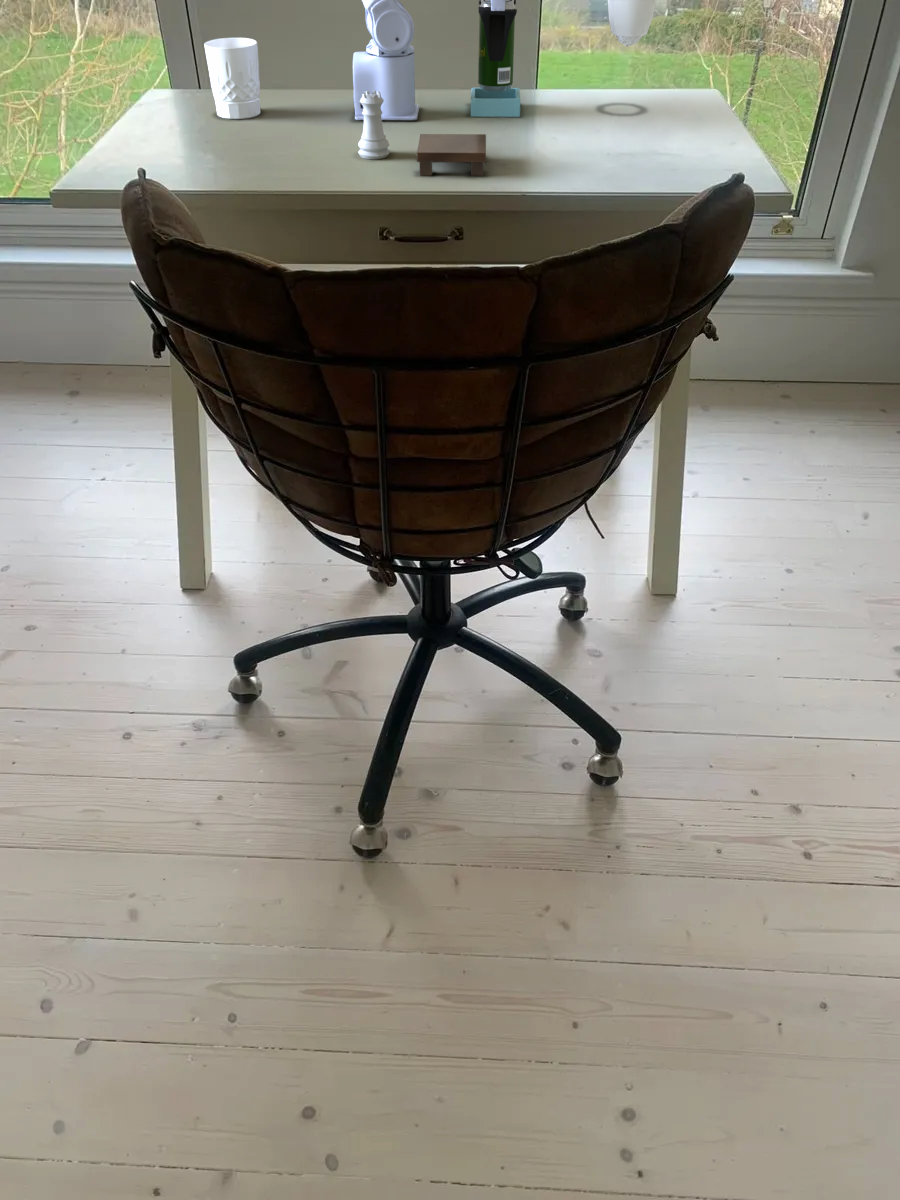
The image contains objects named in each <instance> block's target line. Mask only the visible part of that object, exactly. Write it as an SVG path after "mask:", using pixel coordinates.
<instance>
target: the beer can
mask: <svg viewBox="0 0 900 1200" xmlns="http://www.w3.org/2000/svg"><path fill="white" fill-rule="evenodd" d="M481 2H482V3H481V5H479V7H491V0H481ZM505 9H516V4H515V5H514V0H506V1H505ZM478 21H479V22H478V64H477V65H478V69H477V71H478V72H477V73H478V75H477V77H478V78H477V84H478V86H479V88H481V89H482V90H486V91H506V90H509V89H510V88H512V86H513V84H514V83H513V82H514V61H515V60H514V59H515V58H514V57H515V32H516V31H515V28H516V27H515V26H516V17H515V18H514V20H513V22H512V25H511V27H510V31H509V35H508V40H507V46H506V51H505V56H504V59H503V61H490V60H489V56H488V50H487V41H486V34H485V29H484V25H483V22H482V19H481V17H480V14H479V13H478Z"/></svg>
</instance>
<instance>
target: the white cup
mask: <svg viewBox="0 0 900 1200" xmlns="http://www.w3.org/2000/svg"><path fill="white" fill-rule="evenodd" d="M203 46H204V51H205V57H206V64H207V68H208V76H209V80H210V87H211V90H212V96H213V98H214V103H215V108H216V109H215V110H216V115H217V116H218V117H220V118H223V119H228V120H246V119H250V118H255V117H257V116H259V115H260V114H261V100H260V99H261V96H260V95H261V89H260V88H261V82H260V64H259V48H258V41H257V40H255V39H253V38H247V37H223V38H222V37H221V38H214V39H209V40H207V41H205V42H204V44H203Z"/></svg>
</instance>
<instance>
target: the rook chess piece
mask: <svg viewBox="0 0 900 1200" xmlns="http://www.w3.org/2000/svg"><path fill="white" fill-rule="evenodd" d="M360 102H361V104H362V105H363V108H364V110H363V112H362V114H363V115H364V120H363V126H362V127H363V128H362V134H361V136H360V140H359V141H358V142H357V143H358V145H357V146H358V148H359V150H358V151H357V153H358V155H359V157H360V158H363V159H365V160H366V159H367V160H380V159H384V158H385V159H386V158H387V157H388V156H389V154H390V153H391V151H390V149H389V146H390V143H389V142H390V141H389V140H388V139H387V136H386V134H385V132H384V128H383V120H381V115H382V113H383V112H382V111H381V105H382V103H383V102H384V100H383V99H382V97H381V93H380V92H377V95H376V91H372V94H370V93H369V91H366V94H365V92H363V93H362V98H361V100H360Z"/></svg>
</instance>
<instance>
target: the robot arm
mask: <svg viewBox="0 0 900 1200" xmlns="http://www.w3.org/2000/svg"><path fill="white" fill-rule="evenodd" d="M505 1H506V0H491V7H480V5H481V3H482V2H481V0H478V5H479V6H478V15H479V14H480V17H481V19H482V22H483V25H484V29H485V34H486V41H487V50H488V56H489V60H490V61H503V59H504V56H505V51H506V46H507V40H508V35H509V31H510V27H511V25H512V22H513V20H514V18H515V19H516V16H517V13H518V10H517V9H516V8H515V9H505ZM361 2H362V4H363V7H364V11H365V25H366V28H367V30H368V32H369V35H371V37H372V38H371V39H370V40H369V42H368V44H367V45H366V47H365V51H355V52H354V53H353V54H352V55H353V56H352V81H353V82H352V83H353V105H354V120H356V121H364V115H363V114H362V112H363V110H364V108H363V105H362V104H361V102H360V100H361V98H362V93H363V92H365V94H366V91H369V93H370V94H372V91H376V95H377V92H380V93H381V97H382V99H383V100H384V102H383V103H382V105H381V111H382V112H383V113H382V115H381V120H382V121H417V120H418V116H419V110H420V104H416V70H415V66H416V63H415V46H414V45H412V42H413V40H414V36H415V23H414V20H413V18H412V16H411V14H410V12H408V10H406V9H405V7H404V4H403V3H402V2H401V1H400V0H361ZM516 4H517V0H514V5H515V6H516Z"/></svg>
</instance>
